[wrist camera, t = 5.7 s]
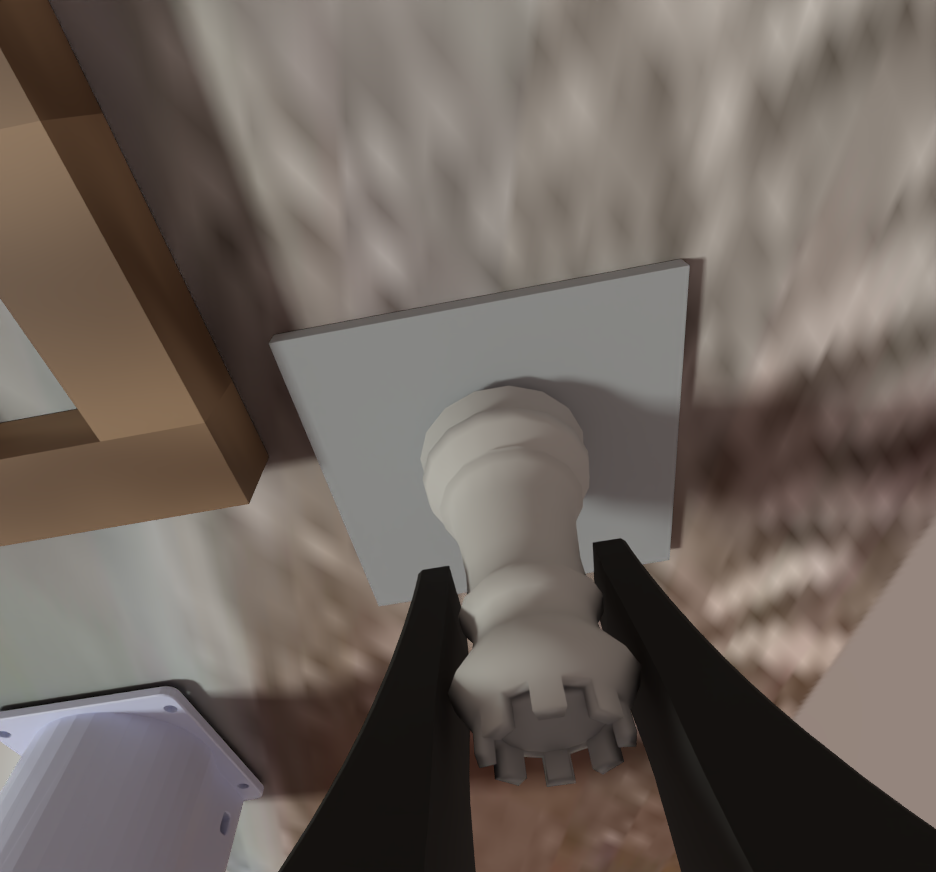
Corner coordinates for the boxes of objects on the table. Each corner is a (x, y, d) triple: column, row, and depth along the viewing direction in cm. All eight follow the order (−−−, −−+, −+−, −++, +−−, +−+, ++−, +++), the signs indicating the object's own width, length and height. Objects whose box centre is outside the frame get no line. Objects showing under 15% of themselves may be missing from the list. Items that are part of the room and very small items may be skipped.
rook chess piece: (509, 342, 13) (589, 621, 6) (612, 446, 15) (754, 741, 8) (386, 448, 15) (348, 758, 8) (494, 529, 17) (535, 832, 10)
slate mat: (664, 548, 18) (669, 559, 18) (380, 594, 19) (378, 606, 18) (681, 258, 13) (689, 265, 12) (273, 334, 13) (268, 343, 13)
